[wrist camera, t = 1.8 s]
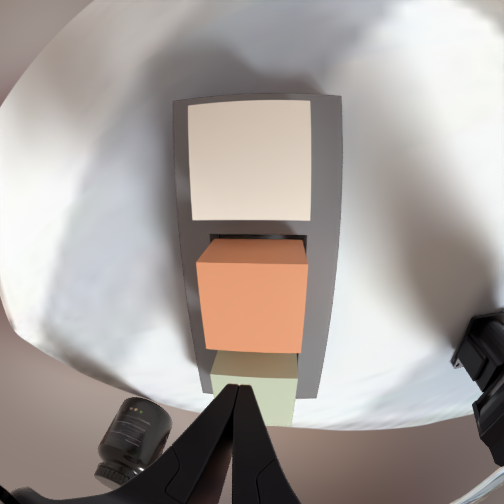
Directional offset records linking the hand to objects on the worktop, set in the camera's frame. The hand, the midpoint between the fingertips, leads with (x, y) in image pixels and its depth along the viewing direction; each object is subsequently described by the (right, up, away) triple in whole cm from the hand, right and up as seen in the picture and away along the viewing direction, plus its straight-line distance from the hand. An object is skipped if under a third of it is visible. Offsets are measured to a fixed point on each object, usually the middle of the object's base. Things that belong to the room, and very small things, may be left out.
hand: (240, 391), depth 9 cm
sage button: (+1, -4, +11) cm, 12 cm away
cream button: (+1, +10, +7) cm, 12 cm away
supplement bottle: (-12, -15, +20) cm, 28 cm away
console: (+1, +4, +11) cm, 12 cm away
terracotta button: (+1, +3, +9) cm, 10 cm away
